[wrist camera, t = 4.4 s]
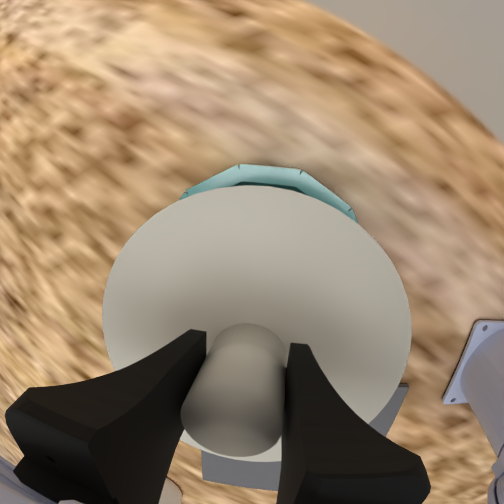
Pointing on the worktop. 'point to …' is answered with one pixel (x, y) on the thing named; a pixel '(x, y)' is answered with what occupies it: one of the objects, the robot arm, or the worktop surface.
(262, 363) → the lid
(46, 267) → the worktop surface
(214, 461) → the mat
